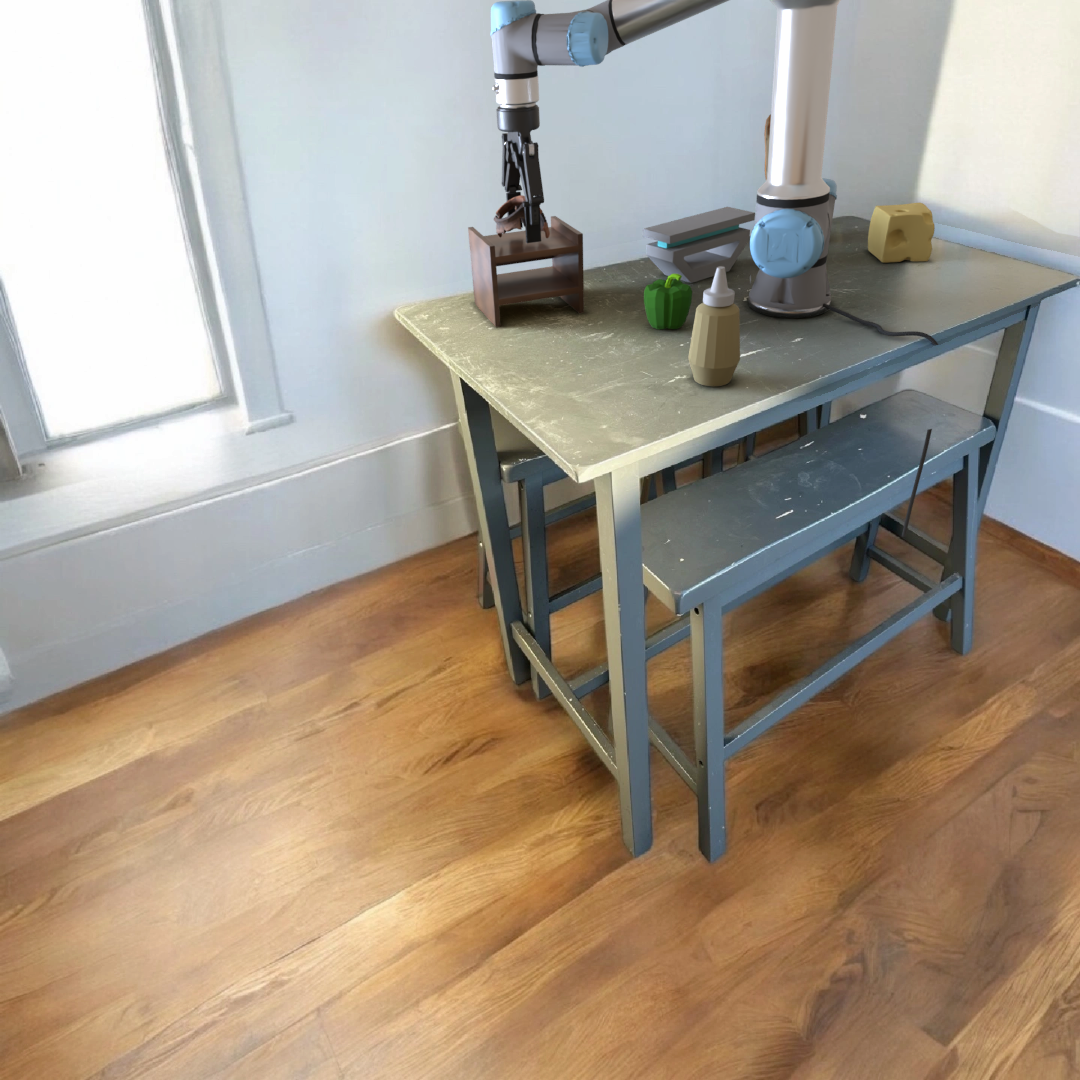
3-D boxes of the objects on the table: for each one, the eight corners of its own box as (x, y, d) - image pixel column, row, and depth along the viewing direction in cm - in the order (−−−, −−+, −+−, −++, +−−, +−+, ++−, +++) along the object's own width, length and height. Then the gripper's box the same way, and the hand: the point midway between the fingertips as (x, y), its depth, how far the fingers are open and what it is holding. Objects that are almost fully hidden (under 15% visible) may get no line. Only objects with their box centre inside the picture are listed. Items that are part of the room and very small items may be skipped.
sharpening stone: (723, 257, 192) (727, 206, 186) (750, 264, 186) (755, 212, 180) (641, 281, 180) (642, 228, 174) (667, 290, 174) (670, 235, 168)
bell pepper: (635, 323, 160) (636, 269, 154) (673, 315, 162) (676, 262, 156) (658, 337, 153) (660, 282, 148) (697, 329, 156) (700, 274, 150)
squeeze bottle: (726, 394, 132) (736, 278, 122) (678, 384, 136) (684, 271, 126) (745, 375, 138) (756, 263, 128) (698, 366, 142) (706, 257, 131)
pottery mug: (552, 244, 157) (529, 207, 152) (509, 267, 161) (485, 231, 156) (555, 212, 165) (533, 175, 160) (514, 233, 169) (491, 199, 164)
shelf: (584, 312, 166) (582, 233, 157) (495, 327, 161) (489, 246, 153) (557, 290, 177) (555, 215, 169) (474, 303, 173) (467, 227, 165)
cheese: (929, 261, 182) (940, 213, 177) (879, 264, 183) (887, 215, 177) (912, 248, 191) (922, 201, 185) (864, 250, 191) (872, 203, 186)
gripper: (479, 99, 157) (488, 223, 169) (517, 114, 139) (524, 252, 151) (517, 95, 159) (524, 218, 171) (560, 110, 141) (563, 247, 153)
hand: (524, 234), depth 161 cm, fingers closed on pottery mug, 10 cm apart
